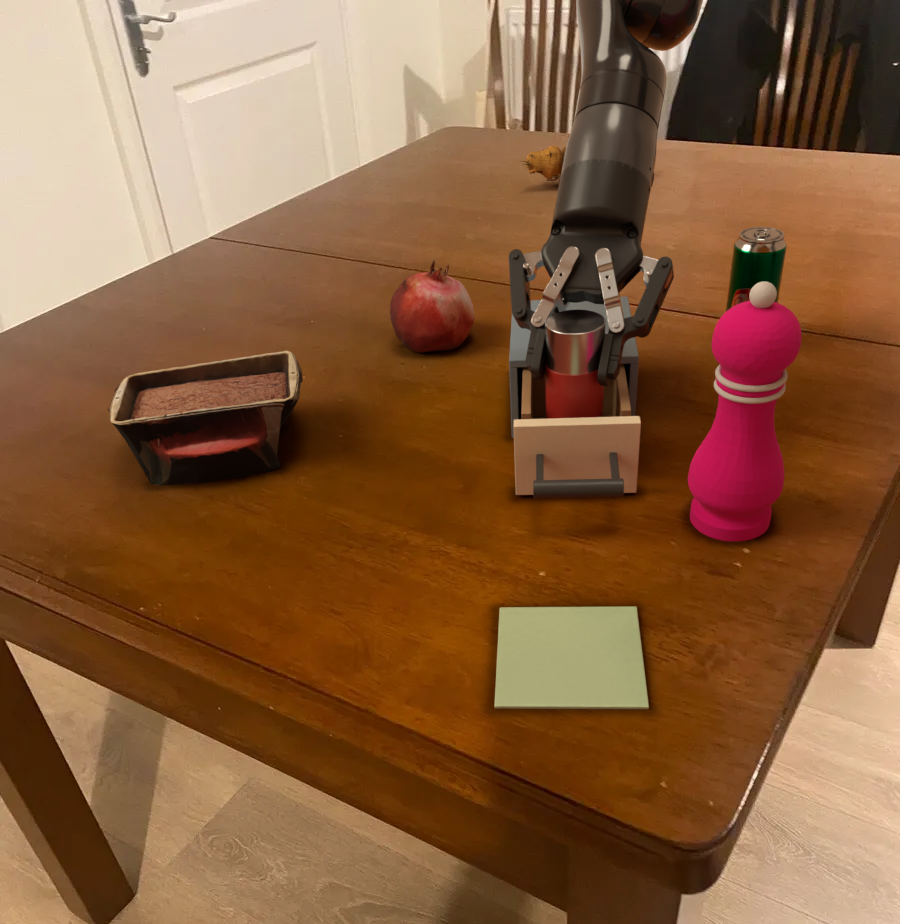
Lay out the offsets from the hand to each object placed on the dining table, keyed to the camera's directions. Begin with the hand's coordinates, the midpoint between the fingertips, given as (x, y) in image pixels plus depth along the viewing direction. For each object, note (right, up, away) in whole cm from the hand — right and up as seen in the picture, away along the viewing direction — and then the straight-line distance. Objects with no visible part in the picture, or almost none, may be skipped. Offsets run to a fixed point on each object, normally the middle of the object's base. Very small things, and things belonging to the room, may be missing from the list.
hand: (570, 379), depth 75 cm
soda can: (+22, +9, +24) cm, 33 cm away
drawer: (+1, -7, +5) cm, 9 cm away
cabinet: (+2, +1, +16) cm, 17 cm away
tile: (-2, -22, -11) cm, 25 cm away
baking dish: (-32, -4, +15) cm, 36 cm away
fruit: (-12, +11, +29) cm, 33 cm away
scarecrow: (+11, +48, +72) cm, 87 cm away
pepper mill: (+13, -12, 0) cm, 18 cm away
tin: (+1, -5, +6) cm, 8 cm away
